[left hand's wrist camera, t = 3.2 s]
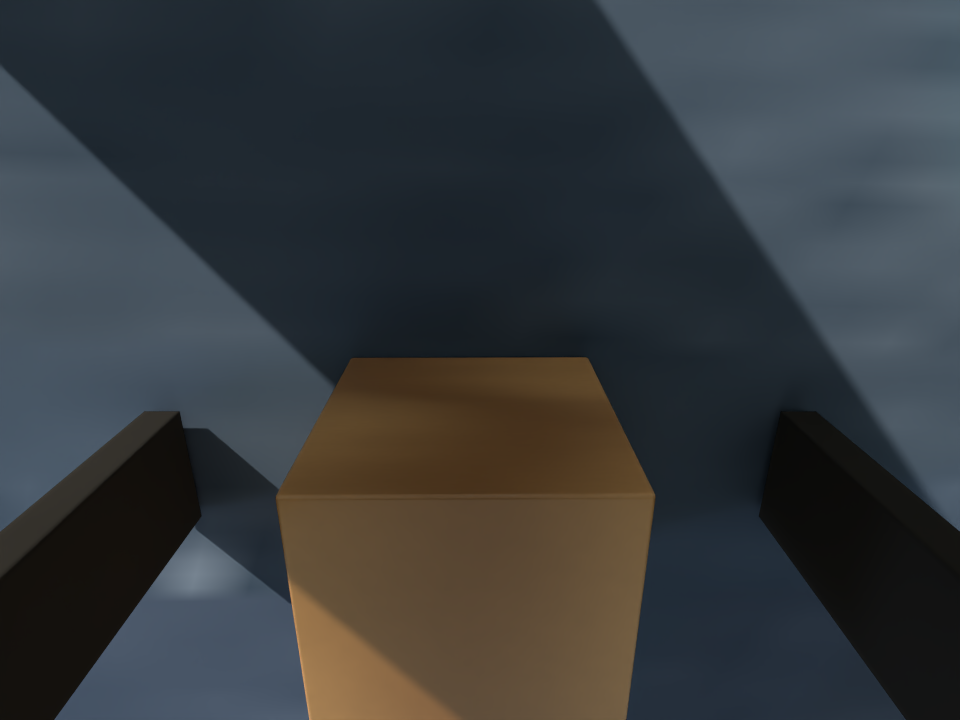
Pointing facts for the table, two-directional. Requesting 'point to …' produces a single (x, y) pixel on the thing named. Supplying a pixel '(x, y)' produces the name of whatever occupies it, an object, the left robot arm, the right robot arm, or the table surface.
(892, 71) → the table surface
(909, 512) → the left robot arm
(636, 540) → the wooden cube
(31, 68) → the table surface
